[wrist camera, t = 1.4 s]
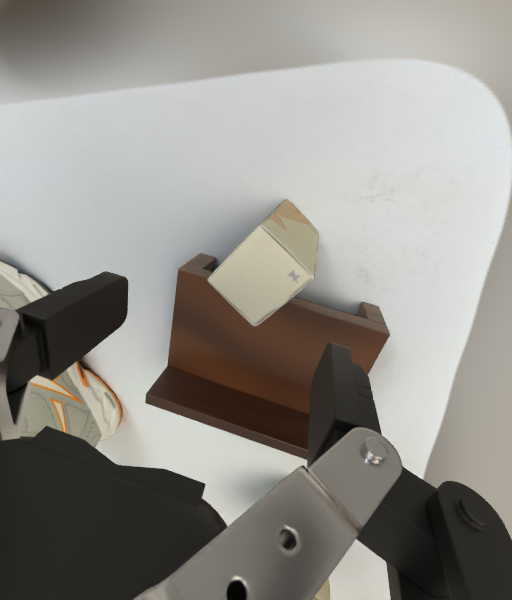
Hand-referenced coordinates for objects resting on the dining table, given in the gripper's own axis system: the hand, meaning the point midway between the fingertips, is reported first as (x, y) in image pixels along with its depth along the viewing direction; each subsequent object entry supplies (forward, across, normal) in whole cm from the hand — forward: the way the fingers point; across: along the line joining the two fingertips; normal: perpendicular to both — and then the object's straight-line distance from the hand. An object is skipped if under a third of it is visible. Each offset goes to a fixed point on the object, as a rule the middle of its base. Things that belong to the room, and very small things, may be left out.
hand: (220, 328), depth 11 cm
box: (+17, 0, 0) cm, 17 cm away
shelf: (+17, -2, +10) cm, 20 cm away
